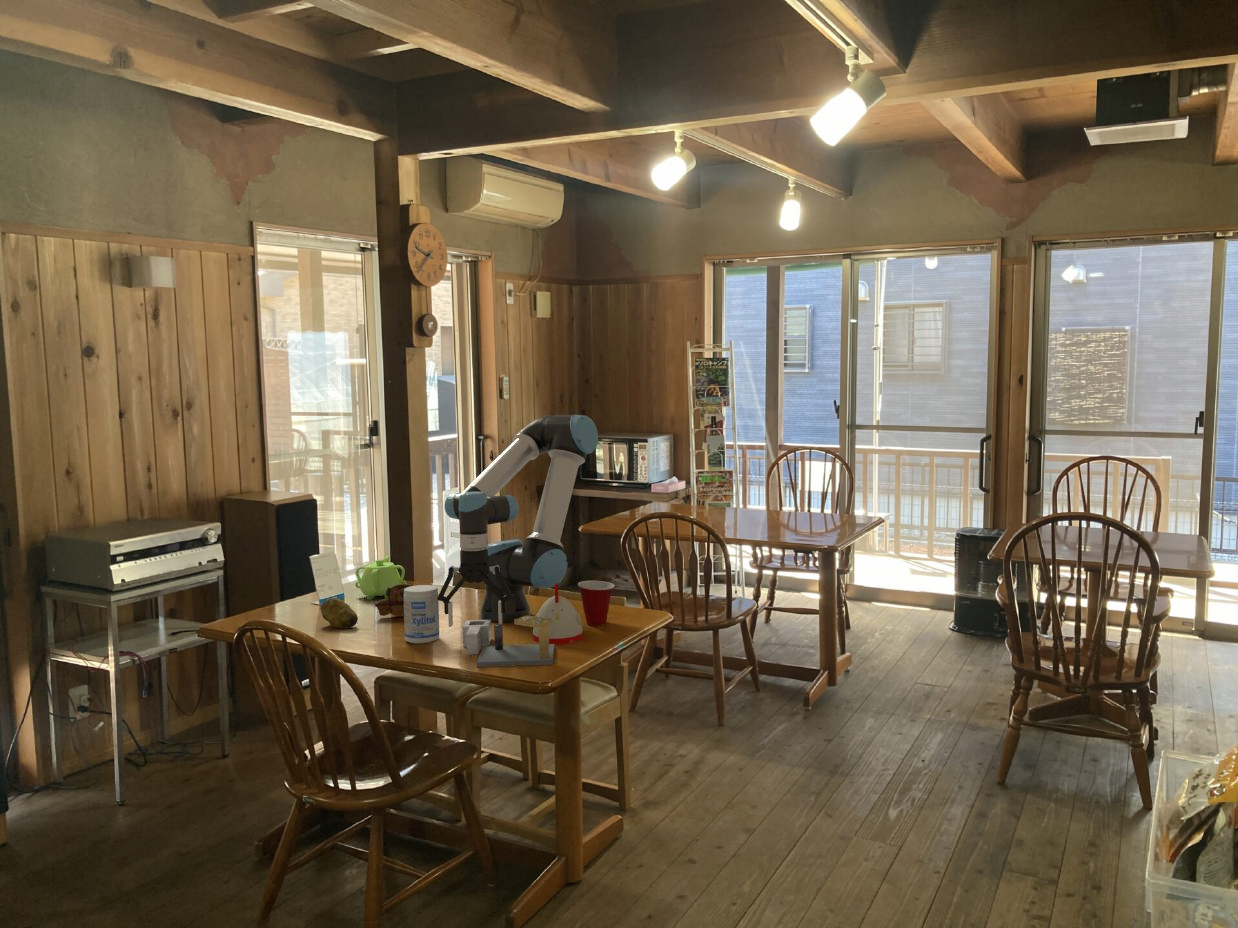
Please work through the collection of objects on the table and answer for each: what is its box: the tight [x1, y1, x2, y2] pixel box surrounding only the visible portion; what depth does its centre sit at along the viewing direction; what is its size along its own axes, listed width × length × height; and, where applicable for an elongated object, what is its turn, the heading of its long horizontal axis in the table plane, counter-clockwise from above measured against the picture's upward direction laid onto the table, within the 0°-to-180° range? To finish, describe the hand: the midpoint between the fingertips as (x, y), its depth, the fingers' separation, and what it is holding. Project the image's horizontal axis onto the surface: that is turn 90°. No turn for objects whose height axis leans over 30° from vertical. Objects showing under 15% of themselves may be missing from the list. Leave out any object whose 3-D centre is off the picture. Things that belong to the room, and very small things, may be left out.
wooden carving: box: [374, 583, 417, 617], centre depth 296 cm, size 16×5×10 cm, turn 116°
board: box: [476, 644, 556, 668], centre depth 249 cm, size 14×19×1 cm
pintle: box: [493, 623, 504, 650], centre depth 253 cm, size 2×2×6 cm
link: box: [462, 619, 493, 656], centre depth 260 cm, size 15×7×6 cm, turn 1°
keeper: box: [513, 615, 553, 658], centre depth 246 cm, size 5×9×9 cm, turn 56°
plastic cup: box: [577, 580, 615, 627], centre depth 281 cm, size 11×11×12 cm
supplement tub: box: [403, 584, 440, 644], centre depth 268 cm, size 10×10×15 cm
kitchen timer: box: [532, 584, 584, 645], centre depth 267 cm, size 14×14×15 cm
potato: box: [320, 597, 359, 629], centre depth 285 cm, size 8×13×8 cm, turn 36°
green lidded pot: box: [354, 554, 408, 601], centre depth 325 cm, size 16×14×13 cm
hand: (475, 625), depth 263 cm, fingers open, 13 cm apart
